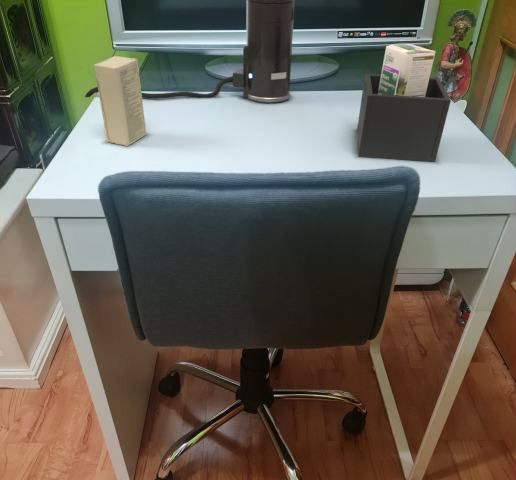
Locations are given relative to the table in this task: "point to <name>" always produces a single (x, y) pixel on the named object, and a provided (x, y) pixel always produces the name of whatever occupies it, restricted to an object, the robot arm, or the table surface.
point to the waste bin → (401, 122)
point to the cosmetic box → (121, 99)
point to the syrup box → (406, 70)
